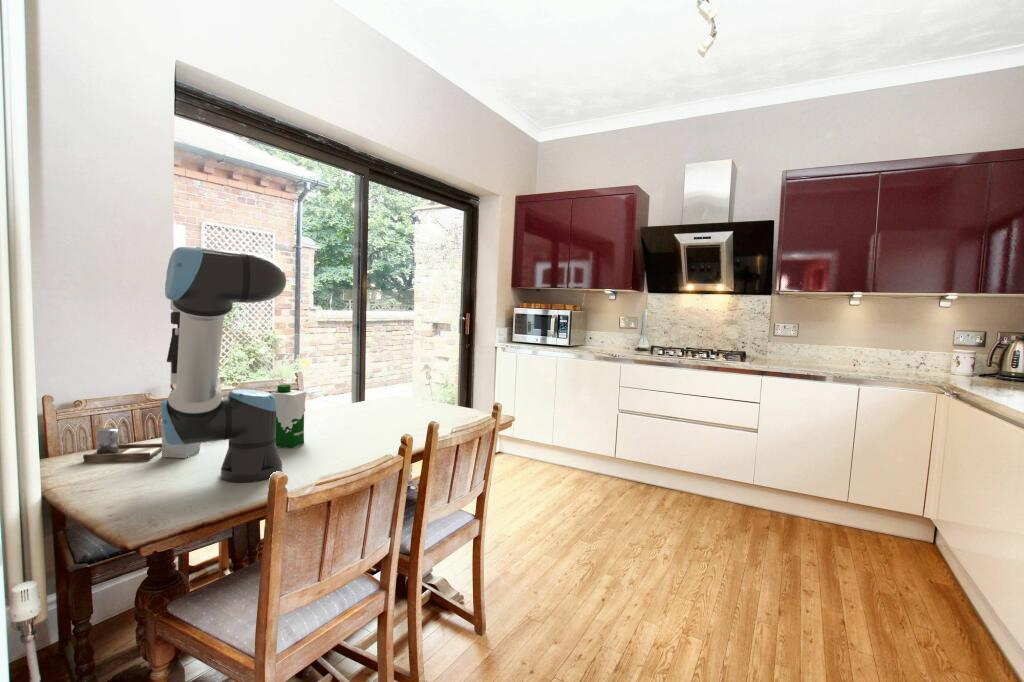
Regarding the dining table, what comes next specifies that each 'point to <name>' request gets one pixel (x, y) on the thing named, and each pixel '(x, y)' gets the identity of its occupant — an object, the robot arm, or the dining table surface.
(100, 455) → the wooden tray
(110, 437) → the grey rounded cube
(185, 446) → the supplement box
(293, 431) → the milk carton
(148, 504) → the dining table surface
